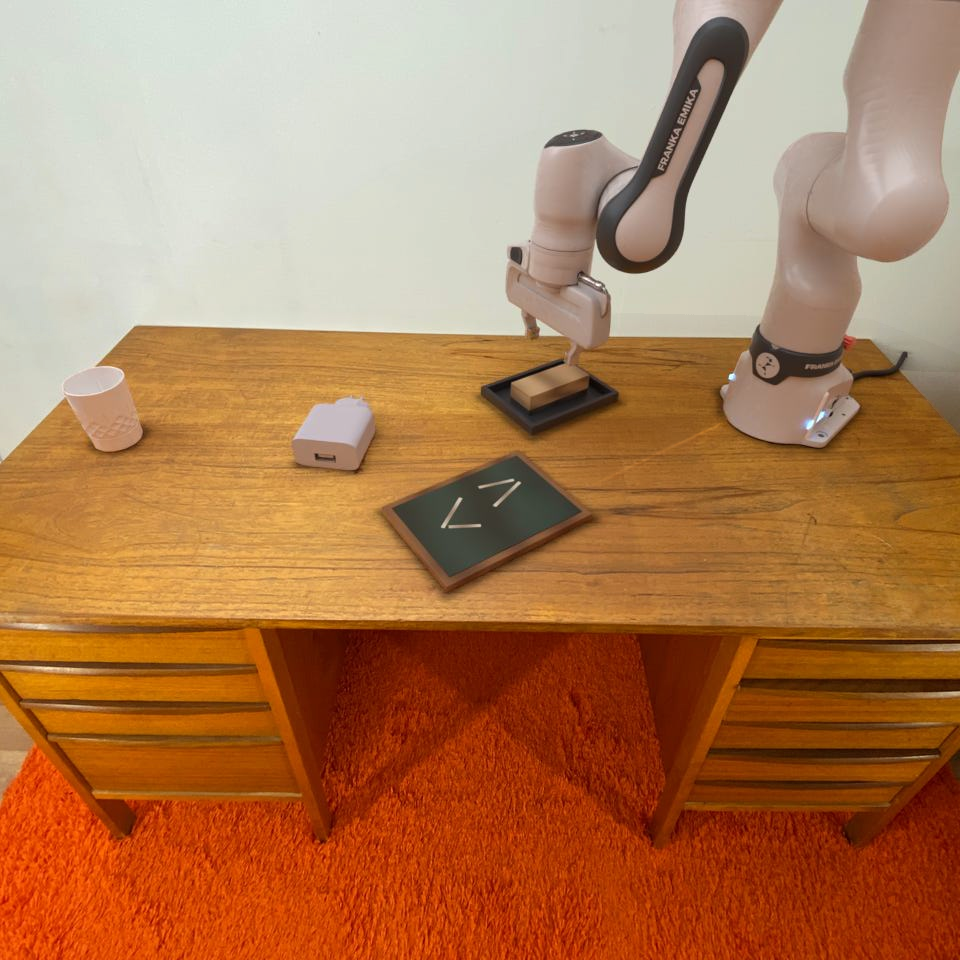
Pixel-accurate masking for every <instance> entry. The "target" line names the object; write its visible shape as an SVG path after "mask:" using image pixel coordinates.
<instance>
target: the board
mask: <svg viewBox="0 0 960 960" xmlns="http://www.w3.org/2000/svg"><path fill="white" fill-rule="evenodd" d="M381 514H382V515H383V516H384V517H385V519H386V520H387V521H388V522H389V524H390V525H391V526H392V528H393V529H394V530H395V531H396V532H397V534H398V535H399V536H400V538H402V540H403V541H404V543H406V545H407V546H408V548H410V550H412V552H413V553H414V554H415V555H416V557H417V558H418V560H420V562H421V563H422V564H423V565H424V566H425V568H426V569H427V571H429V573H430V574H431V576H433V578H434V579H435V580H436V582H437V583H438V584H439V585H440V587H441V588H442V589H443V590H444V591H445V593H449V592H451V591H454V590H456V589H458V588H460V587H461V586H463V585H465V584H467V583H469V582H471V581H473V580H475V579H478V578H479V577H481V576H483V575H485V574H487V573H489V572H491V571H493V570H495V569H497V568H499V567H501V566H503V565H505V564H508V563H509V562H511V561H512V560H515V559H517V558H519V557H521V556H523V555H524V554H526V553H528V552H530V551H532V550H534V549H536V548H538V547H540V546H542V545H544V544H547V543H548V542H550V541H552V540H554V539H556V538H558V537H561V536H562V535H564V534H566V533H568V532H569V531H572V530H574V529H576V528H577V527H579V526H581V525H583V524H585V523H587V522H590V521H591V520H592V519H593V514H594V513H593V512H592V511H590V510H589V508H587V507H586V506H585V505H584V504H583V503H581V502H580V501H579V500H577V499H576V497H574V496H573V495H572V494H571V493H569V492H568V491H567V490H566V489H565V488H563V487H562V486H561V485H560V484H559V483H558V482H556V481H555V480H554V479H553V478H552V477H550V476H549V475H548V474H547V473H546V472H545V471H543V470H542V469H541V468H540V467H539V466H538V465H536V464H535V463H534V462H533V461H531V459H529V458H528V457H527V456H526V455H524V454H523V453H522V452H521V451H520V450H515V451H513V452H510V453H508V454H505V455H503V456H501V457H498V458H496V459H493V460H491V461H489V462H486V463H484V464H482V465H479V466H477V467H474V468H472V469H469V470H467V471H465V472H463V473H459V474H458V475H454V476H453V477H450V478H448V479H445V480H443V481H440V482H438V483H436V484H433V485H431V486H429V487H426V488H424V489H422V490H419V491H417V492H415V493H412V494H409V495H407V496H405V497H402V498H400V499H398V500H395V501H392V502H389V503H388V504H386V505H383V506H381Z"/></svg>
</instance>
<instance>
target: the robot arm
mask: <svg viewBox="0 0 960 960" xmlns="http://www.w3.org/2000/svg"><path fill="white" fill-rule="evenodd" d="M783 2H784V0H676V1H675V5H674V9H673V15H672V37H673V38H672V39H673V40H672V41H673V43H672V44H673V55H672V56H673V57H672V59H673V60H672V69H671V75H670V80H669V85H668V89H667V93H666V96H665V99H664V102H663V105H662V106H661V109H660V112H659V114H658V116H657V119H656V121H655V124H654V127H653V129H652V131H651V134H650V137H649V139H648V141H647V144H646V146H645V148H644V151H643V154H642V156H641V159H639V158H637V157H635V156H632V155H631V154H628V153H626V152H624V151H623V150H622V149H620V148H618V147H617V146H615V145H614V144H613V143H612V142H611V141H609V139H608V138H607V137H606V136H605V135H604V133H603V132H601V131H598V130H595V129H574V130H569V131H565V132H564V131H563V132H562V133H560V134H556V135H554V136H553V137H551V139H549V140H548V141H547V142H546V144H544V146H543V147H542V149H541V152H540V154H539V159H538V163H537V167H536V172H535V173H536V174H535V179H534V180H535V181H534V190H533V200H532V201H533V202H532V208H533V213H534V224H533V227H532V230H531V233H530V239H525V240H522V241H517V242H513V243H511V244H508V245H507V248H506V256H507V259H508V262H507V264H506V270H505V284H504V285H505V287H504V288H505V289H504V290H505V291H504V292H505V295H506V298H507V300H508V302H509V303H511V304H512V305H513V306H516V307H517V308H519V309H520V310H521V311H520V314H521V319H522V321H523V325H524V327H525V328H524V330H525V331H524V337H525V338H527V339H529V340H530V341H534V340H538V339H539V338H540V331H541V328H540V327H539V326H538V323H537V320H538V321H540V322H541V323H543V324H545V325H546V326H548V327H549V328H551V329H552V330H554V331H556V332H557V333H559V334H560V335H562V336H564V337H565V338H567V339H568V340H569V346H570V347H571V348H570V349H569V350H567V351H564V353H563V358H564V359H563V361H564V362H565V363H566V364H568V365H569V366H573V365H578V364H579V361H580V355H581V353H582V352H583V351H584V350H586V351H591V350H594V349H597V348H600V347H604V345H605V344H607V343H608V341H609V339H610V333H611V325H612V324H611V323H612V322H611V321H612V298H611V294H610V293H609V291H608V289H607V288H606V284H605V283H604V282H603V281H601V280H597V279H595V278H594V277H592V276H591V273H592V268H593V261H594V260H593V259H594V252H595V246H596V248H597V250H598V252H599V255H600V256H601V258H602V259H603V261H604V262H605V263H607V265H609V267H611V268H613V269H614V270H616V271H618V272H621V273H624V274H631V275H638V274H639V275H640V274H645V273H648V272H649V273H650V272H652V271H655V270H657V269H659V268H661V267H662V266H664V265H665V264H666V263H668V262H669V261H670V260H671V259H672V257H673V256H675V255H676V253H677V251H678V249H679V248H680V245H681V243H682V241H683V238H684V234H685V233H684V232H685V223H686V209H687V202H688V197H689V194H690V190H691V188H692V185H693V182H694V180H695V178H696V175H697V174H698V171H699V169H700V167H701V165H702V162H703V161H704V158H705V156H706V153H707V151H708V149H709V147H710V144H711V142H712V140H713V138H714V136H715V133H716V132H717V129H718V126H719V124H720V122H721V120H722V118H723V115H724V113H725V111H726V109H727V106H728V104H729V102H730V99H731V97H732V95H733V93H734V90H735V89H736V87H737V85H738V84H739V82H740V80H741V78H742V76H743V74H744V72H745V71H746V68H747V67H748V65H749V63H750V61H751V59H752V58H753V56H754V54H755V52H756V50H757V49H758V47H759V45H760V43H761V42H762V40H763V39H764V36H765V35H766V33H767V32H768V30H769V28H770V27H771V24H772V23H773V21H774V19H775V17H776V15H777V13H778V12H779V10H780V8H781V6H782V4H783ZM959 73H960V0H867V4H866V7H865V9H864V12H863V16H862V17H861V21H860V24H859V26H858V29H857V33H856V35H855V38H854V41H853V43H852V47H851V50H850V53H849V55H848V59H847V62H846V64H845V67H844V70H843V73H842V74H843V75H842V89H843V92H844V95H845V99H846V108H847V109H846V110H847V119H846V131H815V132H810V133H807V134H804V135H803V136H801V137H800V138H798V139H796V140H795V141H794V142H792V143H791V144H790V145H789V146H788V147H787V148H786V149H785V151H784V152H783V153H782V155H781V156H780V158H779V159H778V161H777V164H776V166H775V169H774V173H773V177H772V186H773V190H774V191H773V192H774V194H775V199H776V201H777V212H778V223H777V225H778V226H777V227H778V228H777V229H778V230H777V247H776V248H777V249H776V260H775V268H774V269H775V270H774V275H773V278H772V279H773V280H772V283H771V288H770V291H769V293H768V297H767V300H766V304H765V307H764V311H763V314H762V317H761V320H760V322H759V324H757V325H756V327H755V329H754V330H755V331H754V332H753V333H752V336H751V339H750V344H749V347H748V349H747V350H744V351H743V352H742V353H741V354H740V356H739V359H738V361H737V363H736V365H735V369H734V371H733V373H731V374H729V376H728V380H730V381H729V383H727V384H724V385H722V386H721V388H720V390H719V395H720V396H721V398H722V400H723V404H722V410H723V412H724V414H725V417H726V418H727V419H726V421H728V422H729V423H730V424H731V425H732V426H733V427H734V428H736V429H737V430H739V431H740V432H742V433H744V434H746V435H748V436H750V437H752V438H756V439H757V440H758V439H759V440H762V441H765V442H771V443H775V444H785V445H789V444H791V445H801V446H802V445H803V446H807V447H811V448H818V449H822V448H825V447H826V446H827V445H828V444H829V443H830V442H831V441H832V440H833V439H834V438H835V437H836V435H837V434H838V433H839V432H841V431H842V429H843V428H844V427H845V426H846V425H847V424H848V423H849V422H850V421H851V420H852V419H853V418H854V417H855V416H856V415H857V414H858V412H859V410H860V407H861V405H860V404H859V402H857V400H855V398H854V397H852V396H851V395H849V393H850V391H851V388H852V385H853V383H854V381H855V380H856V379H858V378H861V377H865V376H883V375H890V374H893V373H895V372H897V371H899V369H900V368H901V367H902V366H903V364H904V362H905V360H906V358H908V356H909V355H908V354H909V353H908V352H907V351H905V350H904V351H902V352H901V355H900V356H899V360H898V361H897V363H896V364H895V365H894V366H893V367H891V368H888V369H871V370H870V369H869V370H862V371H859V372H856V373H854V374H852V372H853V369H851V368H849V367H847V366H845V365H844V363H842V359H843V357H844V356H843V355H844V353H843V351H844V350H845V351H850V350H852V349H853V347H854V346H855V344H856V342H857V338H856V337H855V336H851V335H848V334H846V333H847V331H848V329H849V326H850V325H851V321H852V319H853V316H854V314H855V313H856V309H857V307H858V305H859V302H860V300H861V297H862V290H863V286H862V285H863V283H862V279H861V275H860V272H859V266H858V258H862V259H866V260H870V261H873V262H878V263H895V262H899V261H903V260H905V259H907V258H909V257H912V256H913V255H914V254H916V253H918V252H919V251H920V250H922V249H923V248H924V247H926V246H927V245H928V244H929V243H930V242H931V241H932V240H933V239H934V237H936V235H937V233H938V232H939V231H940V229H941V228H942V226H943V224H944V222H945V220H946V218H947V215H948V213H949V209H950V208H949V206H950V193H949V190H948V187H947V184H946V182H945V179H944V175H943V174H944V173H943V166H942V151H943V139H944V133H945V123H946V118H947V112H948V108H949V105H950V101H951V100H950V99H951V96H952V92H953V89H954V86H955V83H956V81H957V78H958V76H959Z"/></svg>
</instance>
